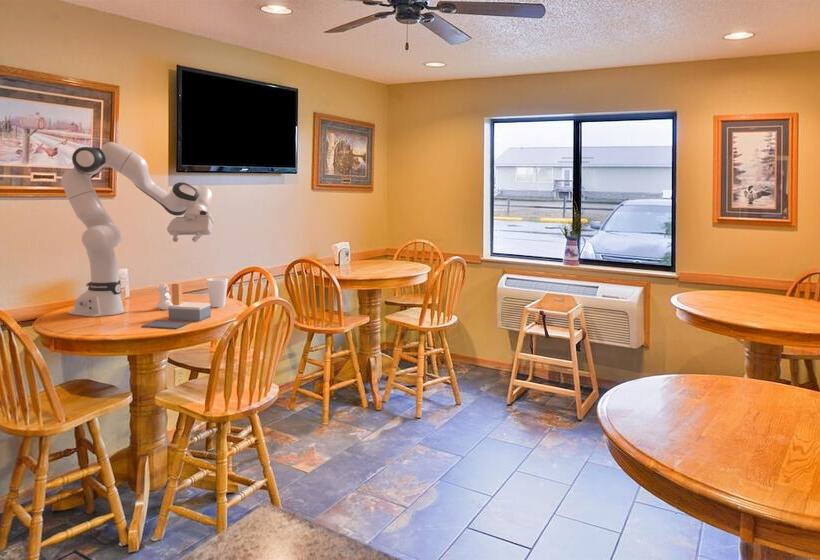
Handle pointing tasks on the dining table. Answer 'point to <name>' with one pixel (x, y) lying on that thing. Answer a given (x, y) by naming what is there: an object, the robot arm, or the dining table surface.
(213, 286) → the foam cup
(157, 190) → the robot arm
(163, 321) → the mat
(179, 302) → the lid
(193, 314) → the tub
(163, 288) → the white creature statuette
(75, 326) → the dining table surface
